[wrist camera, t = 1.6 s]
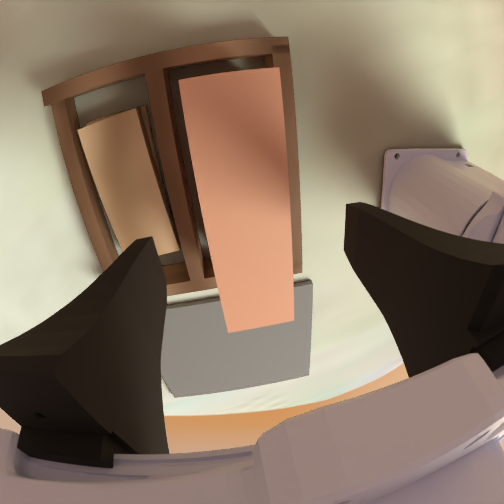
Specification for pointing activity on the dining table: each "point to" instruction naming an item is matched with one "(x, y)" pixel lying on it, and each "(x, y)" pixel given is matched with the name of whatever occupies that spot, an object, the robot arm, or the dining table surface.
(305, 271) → the dining table surface
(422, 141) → the dining table surface
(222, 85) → the salmon orange block
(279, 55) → the rack
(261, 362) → the mat
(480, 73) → the dining table surface
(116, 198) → the offcut top
